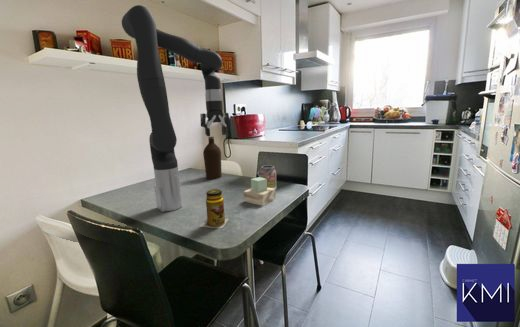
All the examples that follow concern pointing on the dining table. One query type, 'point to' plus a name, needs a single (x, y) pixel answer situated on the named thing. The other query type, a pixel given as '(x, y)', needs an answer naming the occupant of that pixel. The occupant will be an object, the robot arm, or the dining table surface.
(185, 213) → the dining table surface
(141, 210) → the dining table surface
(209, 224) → the condiment
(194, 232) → the dining table surface
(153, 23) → the robot arm
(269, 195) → the maple block
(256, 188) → the green cube
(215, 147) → the olive oil
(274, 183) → the patterned jar
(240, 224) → the dining table surface
